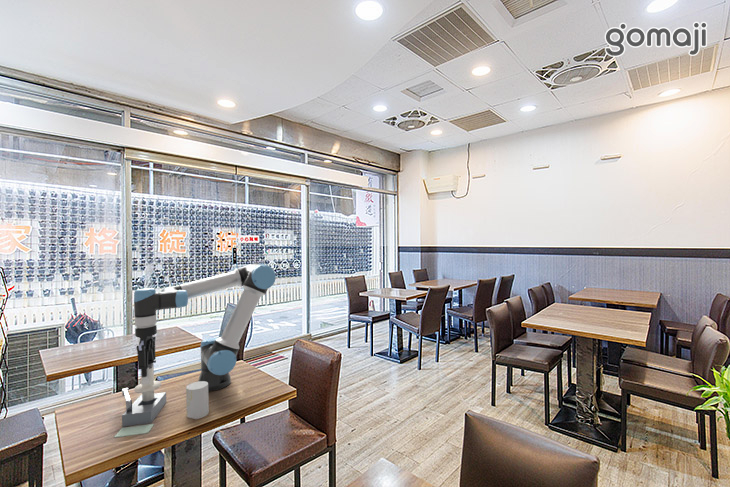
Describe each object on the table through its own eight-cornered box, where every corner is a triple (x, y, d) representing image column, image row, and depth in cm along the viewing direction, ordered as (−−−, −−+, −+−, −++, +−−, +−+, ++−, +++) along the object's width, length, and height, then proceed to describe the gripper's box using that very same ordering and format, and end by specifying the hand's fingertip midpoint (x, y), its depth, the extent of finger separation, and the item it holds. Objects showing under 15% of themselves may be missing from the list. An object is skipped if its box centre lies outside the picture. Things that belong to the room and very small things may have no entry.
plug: (164, 392, 145) (163, 360, 145) (156, 402, 136) (155, 368, 136) (140, 395, 143) (139, 362, 143) (131, 405, 134) (129, 370, 134)
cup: (187, 411, 141) (187, 383, 141) (209, 407, 144) (208, 379, 144) (185, 421, 133) (185, 391, 133) (208, 416, 136) (207, 387, 136)
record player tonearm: (128, 396, 144) (127, 387, 144) (132, 411, 132) (132, 400, 132) (122, 398, 143) (122, 388, 143) (126, 412, 130) (126, 402, 130)
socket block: (166, 403, 148) (166, 392, 148) (151, 424, 131) (151, 411, 131) (140, 406, 146) (140, 394, 146) (122, 428, 129) (121, 415, 129)
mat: (154, 425, 130) (154, 423, 130) (148, 434, 124) (148, 432, 124) (121, 429, 128) (121, 427, 128) (114, 439, 122) (114, 436, 122)
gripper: (144, 321, 147) (145, 374, 147) (126, 332, 130) (128, 391, 130) (163, 320, 148) (164, 372, 149) (147, 330, 132) (149, 389, 132)
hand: (147, 381), depth 140 cm, fingers closed on plug, 4 cm apart
